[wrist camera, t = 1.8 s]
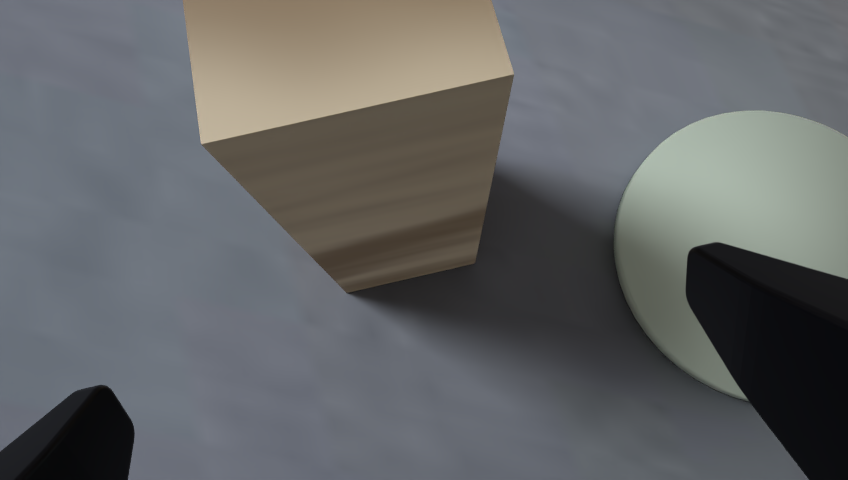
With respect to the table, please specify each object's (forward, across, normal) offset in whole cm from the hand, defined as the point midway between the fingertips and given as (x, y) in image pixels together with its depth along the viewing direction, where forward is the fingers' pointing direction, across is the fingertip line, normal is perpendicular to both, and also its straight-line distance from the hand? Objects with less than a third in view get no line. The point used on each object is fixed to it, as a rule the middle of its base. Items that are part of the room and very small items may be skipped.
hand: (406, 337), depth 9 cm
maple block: (+13, 0, +4) cm, 14 cm away
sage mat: (+10, -13, +8) cm, 18 cm away
